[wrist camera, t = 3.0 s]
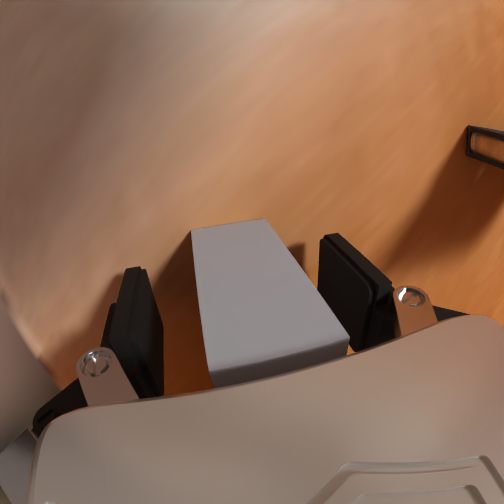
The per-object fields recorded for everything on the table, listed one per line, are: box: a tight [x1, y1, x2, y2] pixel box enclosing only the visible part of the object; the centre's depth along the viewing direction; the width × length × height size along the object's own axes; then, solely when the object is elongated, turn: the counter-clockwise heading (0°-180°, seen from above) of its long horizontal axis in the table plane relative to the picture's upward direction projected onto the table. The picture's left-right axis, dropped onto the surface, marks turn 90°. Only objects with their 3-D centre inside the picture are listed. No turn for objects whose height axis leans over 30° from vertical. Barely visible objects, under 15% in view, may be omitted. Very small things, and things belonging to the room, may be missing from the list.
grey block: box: [191, 219, 350, 388], centre depth 12 cm, size 13×3×7 cm, turn 4°
